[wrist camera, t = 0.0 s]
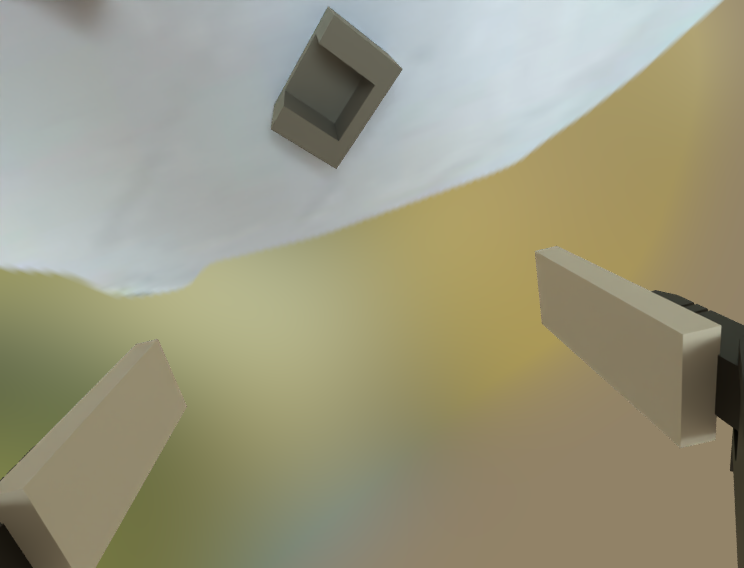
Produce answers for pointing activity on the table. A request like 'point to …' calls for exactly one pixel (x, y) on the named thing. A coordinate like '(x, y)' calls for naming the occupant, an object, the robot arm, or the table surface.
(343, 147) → the end caps
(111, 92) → the table surface
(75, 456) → the robot arm
